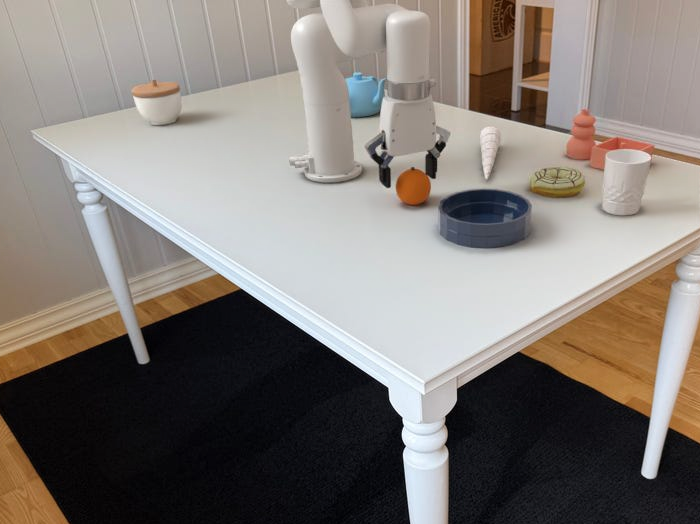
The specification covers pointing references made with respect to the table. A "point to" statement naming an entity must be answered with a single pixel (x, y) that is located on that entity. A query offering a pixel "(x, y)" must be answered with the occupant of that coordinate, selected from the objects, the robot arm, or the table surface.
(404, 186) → the orange
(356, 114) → the teapot
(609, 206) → the white cup
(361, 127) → the table surface
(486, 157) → the unicorn horn
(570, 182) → the decorated donut
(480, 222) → the blue bowl
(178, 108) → the lidded bowl
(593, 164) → the pottery
